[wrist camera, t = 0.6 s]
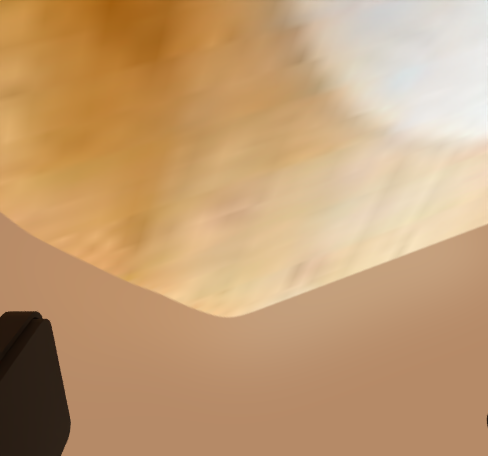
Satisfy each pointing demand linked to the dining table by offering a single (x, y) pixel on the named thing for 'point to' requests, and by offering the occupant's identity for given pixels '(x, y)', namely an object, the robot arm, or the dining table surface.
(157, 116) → the dining table surface
